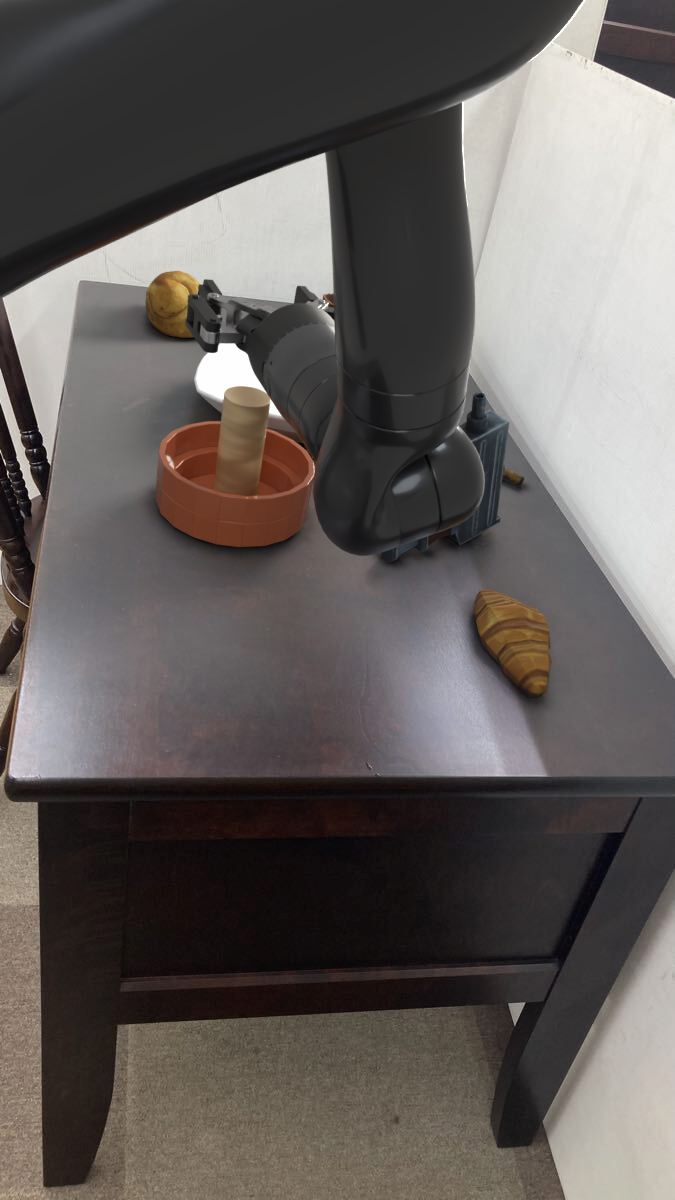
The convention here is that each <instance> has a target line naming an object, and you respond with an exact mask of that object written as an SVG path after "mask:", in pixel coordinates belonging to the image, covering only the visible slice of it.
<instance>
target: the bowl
mask: <svg viewBox="0 0 675 1200" xmlns="http://www.w3.org/2000/svg"><path fill="white" fill-rule="evenodd" d="M193 382H194V385H195V386H194V387H195V388H196V392H197V393H198V394H199V395H200V396H201V397H202V398H203V399H204V400H205V401H207V403H208V404H210V405H211V406H212V407H213V408H214V409H215V410H217V411H218V412H219V413H220V414H221V415H222V408H223V399H224V392H225V391H226V390H227V389H228V388H231V387H235V386H247V387H253V388H257V389H259V390H262V391H264V392H265V393H266V391H265V390H264V388H263V386H262V385H261V383H260V382H259V380H258V379H257V377H256V376H255V374H254V372H253V369H252V367H251V364H250V361H249V357H248V355H247V353H245V352H244V351H242V350H240V349H239V348H237V346H236V345H235V344H224V343H219V346H218V352H216V353H208V352H206V354H205V355H204V356H203V357H202V358H201V360H200V362H199V364H198V366H197V368H196V370H195V375H194V379H193ZM267 429H270V430H273V431H276V432H278V433H280V434H282V435H284V436H286V437H288V438H290V439H292V440H294V441H295V442H296V443H298V444H303V442H302V440H301V439H300V437H299V436H298V434H297V433H296V431H295V430H294V428H293V427H292V426H290V425H289V424H288V423H287V421H286V420H285V419H284V418H283V417H282V416H281V414H280V413H279V411H278V410H277V408H276V407H275V405H274V404H273V402H272V401H271V403H270V410H269V417H268V423H267Z"/></svg>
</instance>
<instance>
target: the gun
mask: <svg viewBox="0 0 675 1200" xmlns="http://www.w3.org/2000/svg"><path fill="white" fill-rule="evenodd" d="M486 395H487V394H485V393H483V392H478V391H477V392H475V393H474V394H473V395H472V401H471V402H472V404H471V410H470V411H469V412H467V414H466V421H464V422H463V423H460V424H459V425H458V426H459V427H460V428H461V429H462V430H463V431H464V432H465V433H466V435H467V436H468V437H469V439H470V440H471V441H472V443H473V445H474V446H475V448H476V450H477V452H478V454H479V456H480V459H481V462H482V465H483V469H484V476H485V486H484V494H483V497H482V500H481V503H480V505H479V507H478V508H477V510H476V512H475V513H474V514H473V515H472V516H471V517H470V518H469V519H467V520H466V521H464V522H463V523H461V524H459V525H457V526H454V527H452V528H449V529H447V530H444V531H441V532H438V533H434V534H432V535H429V536H427V537H424V538H421V539H418V540H415V541H413V542H410V543H407V544H404V545H401V546H398V547H396V548H393V549H390V550H387V551H385V552H382V553H380V554H381V556H382V558H384V559H385V560H386V561H388V562H389V563H392V562H394V561H396V560H397V559H398V557H399V556H401V555H403V554H404V553H406V552H408V551H409V550H411V549H413V548H414V549H416V550H417V552H419V553H423V552H425V551H427V550H428V549H429V547H430V546H432V545H433V544H434V543H435V542H436V541H438V540H441V539H442V538H445V537H449V538H450V539H452V540H453V541H454V542H456V543H457V544H458V545H459V546H461V545H463V544H465V543H467V542H468V541H470V540H472V539H474V538H475V537H477V536H479V535H480V534H482V533H484V532H485V531H487V530H489V529H490V528H492V527H495V526H496V525H497V524H499V523H500V522H501V519H502V518H501V516H500V515H498V514H499V505H500V504H499V503H500V497H501V489H502V483H503V482H502V481H503V478H502V475H504V473H505V469H506V466H505V459H506V451H507V442H508V435H509V428H510V421H509V420H507V419H506V418H504V417H503V416H501V415H499V414H498V413H496V411H493V410H491V409H488V410H486V401H487V396H486Z"/></svg>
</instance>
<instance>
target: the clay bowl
mask: <svg viewBox="0 0 675 1200" xmlns="http://www.w3.org/2000/svg"><path fill="white" fill-rule="evenodd" d="M220 426H221V420H215V421H214V420H208V421H207V420H206V421H201V422H196V423H190V424H186V425H184V426H181V427H179V428H176V429H174V430H172V431H170V432H169V433H168V434H167V435H166V436H165V437H164V438H163V439H162V440H161V442H160V445H159V450H158V456H157V457H158V458H157V468H156V469H157V471H156V472H157V473H156V484H155V485H156V486H155V488H156V489H155V503H156V505H157V508H158V511H159V513H160V515H162V516H163V518H164V519H165V520H166V521H167V522H168V523H169V524H171V526H172V527H174V528H176V529H177V530H179V531H181V532H183V533H185V534H186V535H188V536H190V537H192V538H195V539H198V540H201V541H205V542H207V543H211V544H214V545H219V546H228V547H235V548H251V547H264V546H265V547H266V546H269V545H273V544H276V543H280V542H284V541H286V540H287V539H289V538H291V537H292V536H293V535H296V534H297V533H298V532H300V531H301V529H302V528H303V526H304V524H305V523H306V521H307V517H308V511H309V508H310V501H311V496H312V492H313V482H314V471H315V460H314V459H313V457H312V456H311V454H310V453H309V452H308V450H307V449H306V448H305V447H302V445H300V443H298V442H295V441H294V440H292V439H290V438H288V437H286V436H284V435H282V434H280V433H278V432H276V431H273V430H270V429H267V430H266V437H265V444H264V451H263V458H262V465H261V472H260V478H259V485H258V492H257V496H242V495H235V494H227V493H222V492H218V491H215V490H213V489H214V480H215V471H216V462H217V453H218V444H219V435H220Z"/></svg>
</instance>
